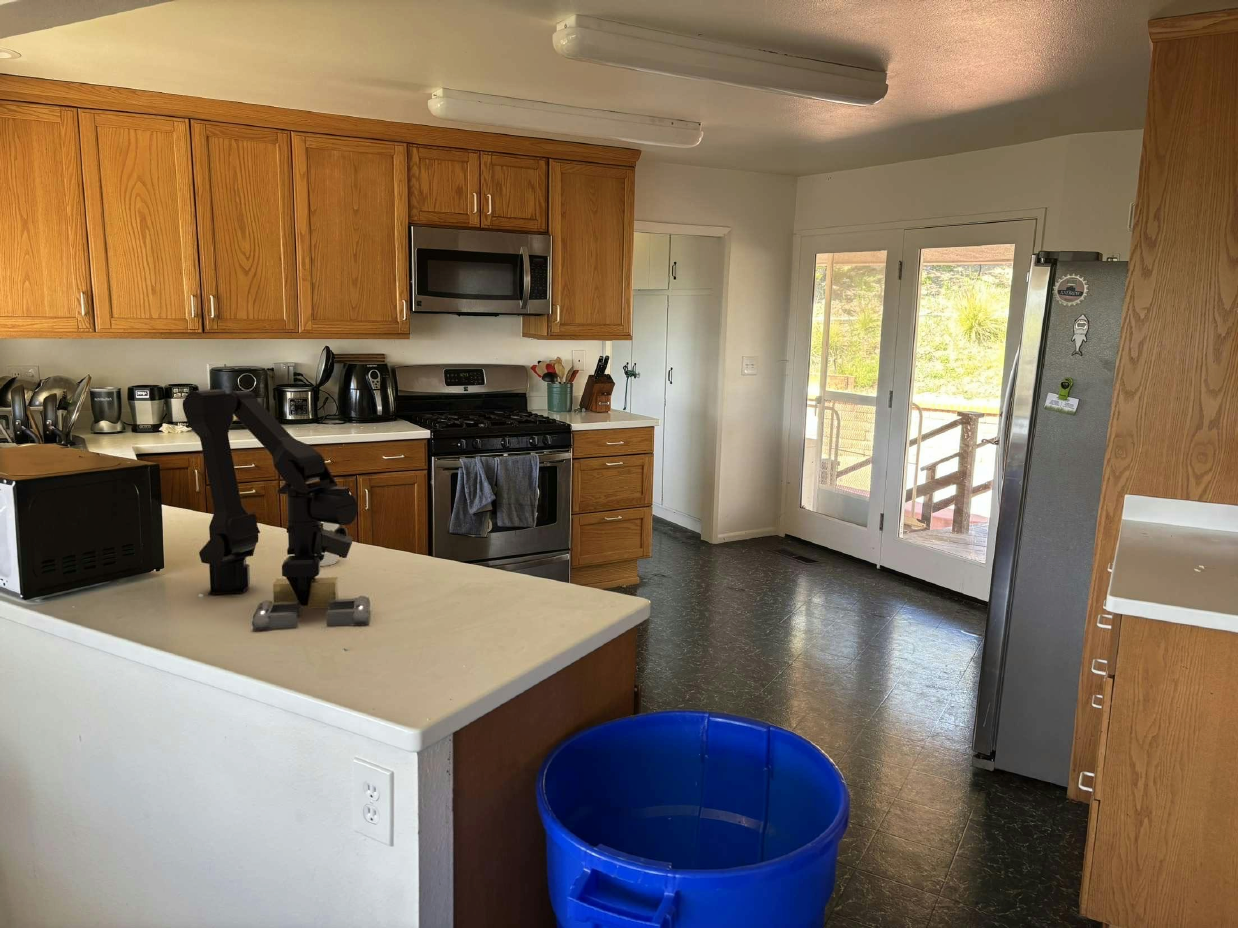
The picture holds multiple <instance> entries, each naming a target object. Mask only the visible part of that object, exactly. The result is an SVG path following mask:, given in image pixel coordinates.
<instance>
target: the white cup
mask: <svg viewBox="0 0 1238 928" xmlns="http://www.w3.org/2000/svg"><path fill="white" fill-rule="evenodd" d="M321 523H323V529H325V530H328V531H330V530H332V531H334V530H335V529H337V528H338V527H339V526H340V525H339V524H332V523H325V522H321ZM322 554H324V555H325V556H324V559H323V560H322V561H321V562H320V567H328V566H332V565H335V564H336V563H338V558H339V556H338V555H335V554H331V553H328V552H325V553H322Z"/></svg>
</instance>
